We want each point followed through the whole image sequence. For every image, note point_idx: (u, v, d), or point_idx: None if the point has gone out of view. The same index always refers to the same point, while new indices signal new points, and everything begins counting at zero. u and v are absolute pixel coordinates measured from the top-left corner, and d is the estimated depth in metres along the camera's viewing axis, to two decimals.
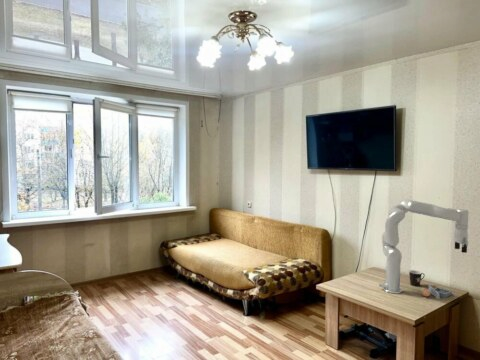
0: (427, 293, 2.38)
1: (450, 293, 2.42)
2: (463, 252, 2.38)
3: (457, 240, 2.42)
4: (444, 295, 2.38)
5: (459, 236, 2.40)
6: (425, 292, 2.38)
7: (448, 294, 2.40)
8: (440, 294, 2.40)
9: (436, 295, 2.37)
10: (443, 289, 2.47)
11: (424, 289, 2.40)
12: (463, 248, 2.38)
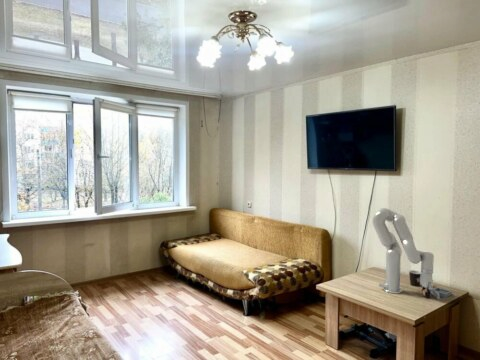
0: None
1: (450, 293, 2.42)
2: (427, 297, 2.37)
3: (422, 284, 2.39)
4: (444, 295, 2.38)
5: (424, 280, 2.37)
6: None
7: (448, 294, 2.40)
8: (440, 294, 2.40)
9: (436, 295, 2.37)
10: (443, 289, 2.47)
11: (424, 289, 2.40)
12: (427, 293, 2.37)
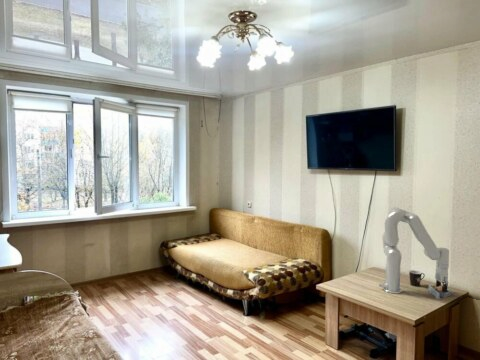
0: None
1: (450, 293, 2.42)
2: (443, 291, 2.39)
3: (438, 279, 2.43)
4: (444, 295, 2.38)
5: (440, 275, 2.41)
6: (440, 289, 2.43)
7: (448, 294, 2.40)
8: (440, 294, 2.40)
9: (436, 295, 2.37)
10: None
11: (439, 286, 2.45)
12: (443, 287, 2.39)
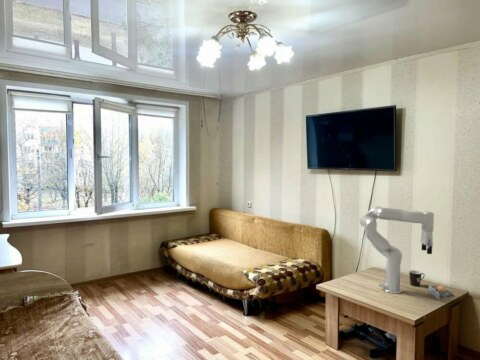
0: (443, 290, 2.42)
1: (450, 293, 2.42)
2: (428, 253, 2.45)
3: (423, 242, 2.49)
4: (444, 295, 2.38)
5: (425, 238, 2.46)
6: (441, 289, 2.42)
7: (448, 294, 2.40)
8: (440, 294, 2.40)
9: (436, 295, 2.37)
10: None
11: (440, 286, 2.44)
12: (428, 249, 2.44)
